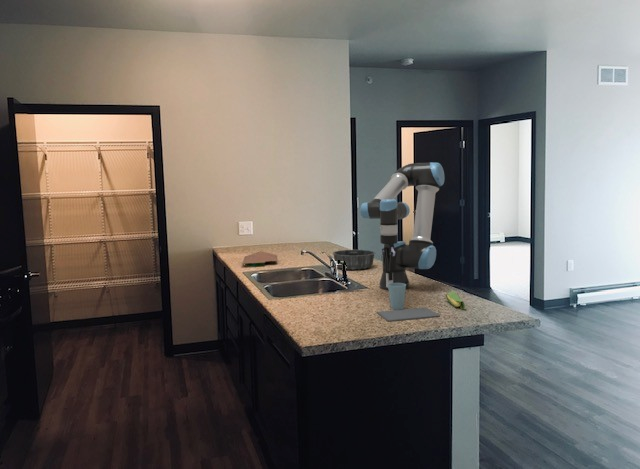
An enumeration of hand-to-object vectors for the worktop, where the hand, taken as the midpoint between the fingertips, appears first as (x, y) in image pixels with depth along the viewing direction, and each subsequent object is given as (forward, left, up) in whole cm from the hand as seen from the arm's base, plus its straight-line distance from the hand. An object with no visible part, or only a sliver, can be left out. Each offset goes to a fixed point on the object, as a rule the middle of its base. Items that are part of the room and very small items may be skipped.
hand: (389, 287), depth 239 cm
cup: (+9, 0, -8) cm, 12 cm away
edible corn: (+12, +26, -8) cm, 29 cm away
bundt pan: (-95, +11, -8) cm, 96 cm away
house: (-139, -42, -8) cm, 146 cm away
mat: (+21, 0, -8) cm, 22 cm away
